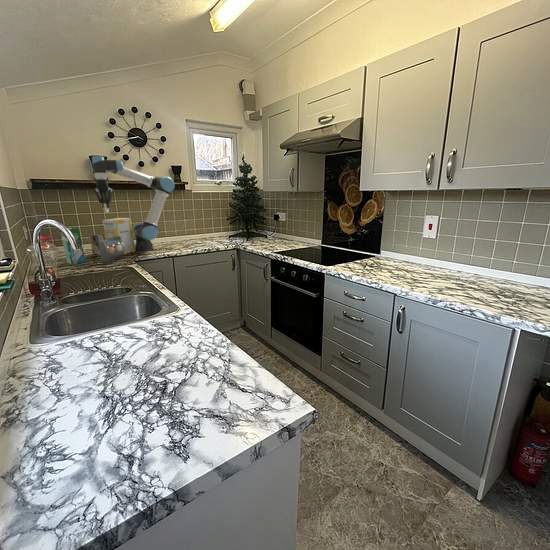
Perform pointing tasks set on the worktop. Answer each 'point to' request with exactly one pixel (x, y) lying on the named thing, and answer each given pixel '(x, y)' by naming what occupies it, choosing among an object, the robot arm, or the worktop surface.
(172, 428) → the worktop surface
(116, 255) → the button panel
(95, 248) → the coffee box
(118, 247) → the cream button
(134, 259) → the worktop surface
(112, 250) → the terracotta button
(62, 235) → the milk carton
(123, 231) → the pasta box
